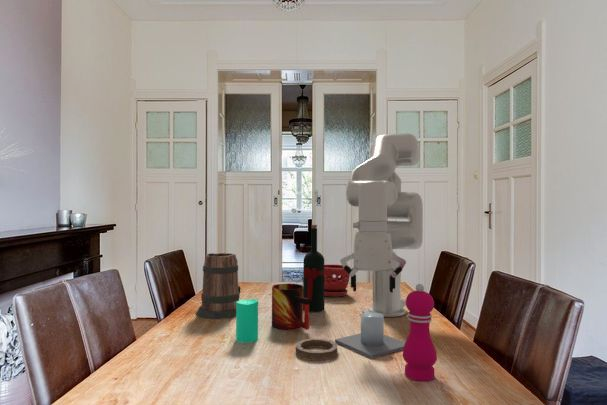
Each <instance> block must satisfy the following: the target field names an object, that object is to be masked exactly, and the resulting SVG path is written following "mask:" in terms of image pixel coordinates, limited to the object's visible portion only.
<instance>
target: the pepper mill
mask: <svg viewBox="0 0 607 405" xmlns="http://www.w3.org/2000/svg"><path fill="white" fill-rule="evenodd" d="M424 290H425V286H424V285H423V284H422V283H418V284H416V285H415V290H413V291H411V292H410V293H409V294H408V295H407V296H406V299H405V300H406V305H405V307H406V308H407V309H408V311H409V312H407V315H408V317H407V319H408V321H409V333H408V336H407V339H406V340H405V342H406V343H405V345H404V348H403V350H402V358H403V360H404V361H405V365H404V375H405V377H407V379H408V378H409V379H411V380H412V381H413V380H414V381H417V382H429V381H432V380H434V378H435V368H434V365H435V364H436V363H437V361H438V360H437V359H438V357H437V356H438V353H437V350H436V347H435V344H434V342H433V340H432V336H431V333H430V324H431V323H432V321H433V320H432V313H431V312H432V311H433V310H434V308H435V301H434V297H433V296H432V294H430V293H429V292H426V291H424Z"/></svg>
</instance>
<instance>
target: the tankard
mask: <svg viewBox="0 0 607 405" xmlns="http://www.w3.org/2000/svg"><path fill="white" fill-rule="evenodd" d="M236 255H237V254H236V253H228V252H227V253H226V252H221V253H213V252H212V253H206V254H205V257H204V264H203V266H202V271H203V272H202V277H203V278H202V293H201V295H200V296H201V297H200V298H201V299H200V300H201V305H200V306H199V307H198V309H197V311H195V313H194V315H195V316H196V317H198V318H200V319H206V320H226V319H227V320H228V319H233V318H236V301H239V300H240V294H241V286H240V285H239V265H238V259H237V256H236Z"/></svg>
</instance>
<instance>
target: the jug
mask: <svg viewBox="0 0 607 405" xmlns="http://www.w3.org/2000/svg"><path fill="white" fill-rule="evenodd" d="M384 318H385V317H384V316H383V315H382V314H379V313H370V312H369V311H368V310H362V313H361V314H360V333H361V343H363V344H365V345H370V346H378V345H382V344H383V343H384V335H385V331H384V330H385V328H384V327H385V326H384V324H385V323H384Z"/></svg>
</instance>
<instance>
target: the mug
mask: <svg viewBox="0 0 607 405" xmlns="http://www.w3.org/2000/svg"><path fill="white" fill-rule="evenodd" d="M303 304H304V310H303ZM271 327H272V328H273V329H275V330H280V331H296V330H300V329H304V330H305V331H307V330H310V312H309V299H308V298H304V297H303V284H298V283H277V284H273V285H272V286H271Z"/></svg>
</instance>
